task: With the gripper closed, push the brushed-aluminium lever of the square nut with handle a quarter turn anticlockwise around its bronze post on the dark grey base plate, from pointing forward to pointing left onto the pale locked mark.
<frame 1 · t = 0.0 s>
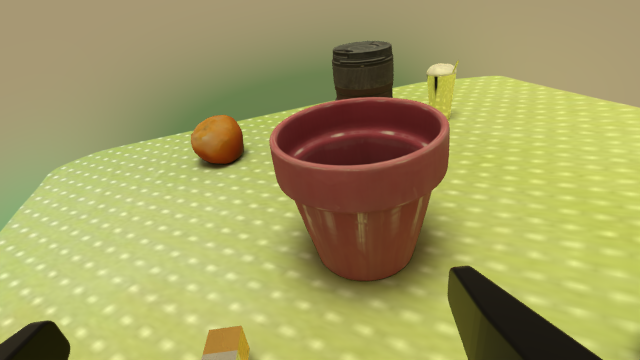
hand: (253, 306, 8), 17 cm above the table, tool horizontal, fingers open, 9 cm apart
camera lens: (368, 150, 53), on the table
plant pot: (366, 249, 34), on the table
milkshake: (441, 120, 60), on the table
fruit: (223, 160, 57), on the table
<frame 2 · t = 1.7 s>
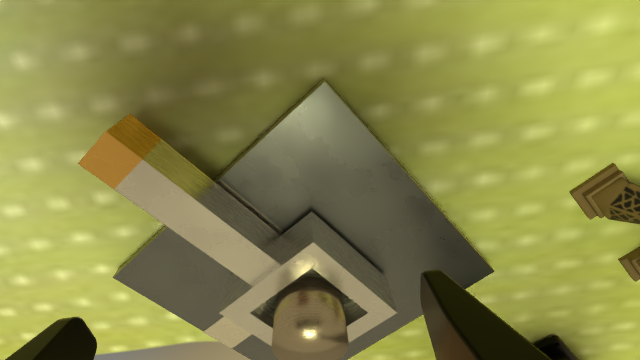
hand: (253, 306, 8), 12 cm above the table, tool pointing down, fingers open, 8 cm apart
post base: (308, 265, 23), on the table
square nut with handle: (246, 246, 19), point 2 cm above the table, hinge at 0.0°
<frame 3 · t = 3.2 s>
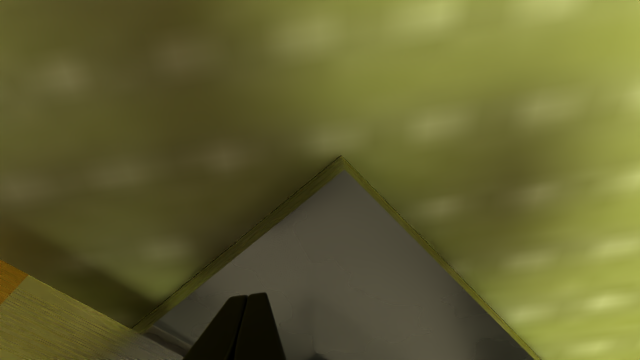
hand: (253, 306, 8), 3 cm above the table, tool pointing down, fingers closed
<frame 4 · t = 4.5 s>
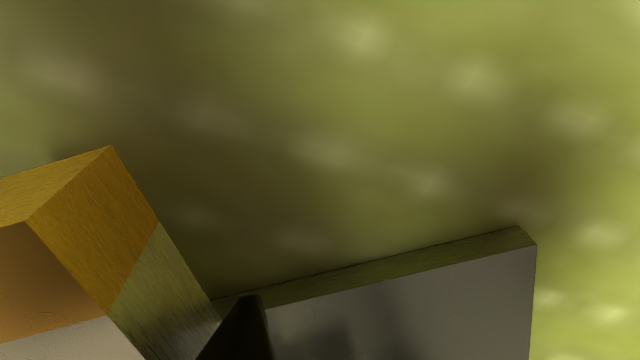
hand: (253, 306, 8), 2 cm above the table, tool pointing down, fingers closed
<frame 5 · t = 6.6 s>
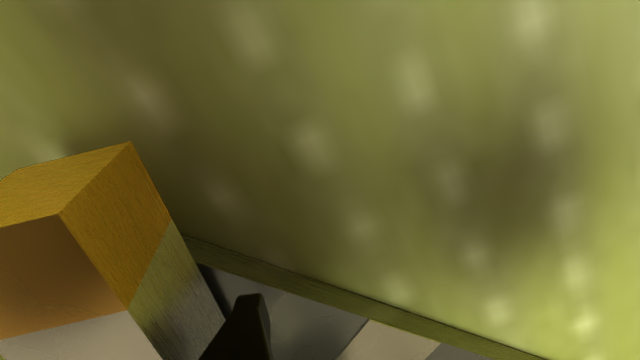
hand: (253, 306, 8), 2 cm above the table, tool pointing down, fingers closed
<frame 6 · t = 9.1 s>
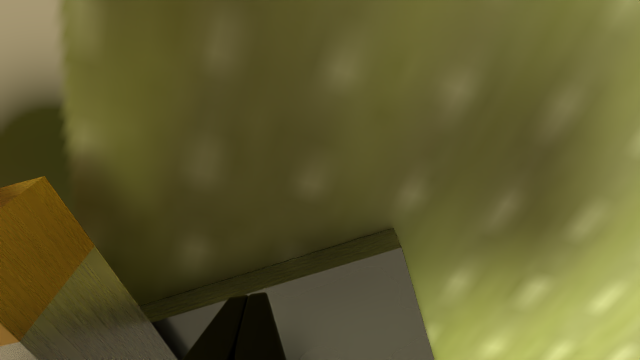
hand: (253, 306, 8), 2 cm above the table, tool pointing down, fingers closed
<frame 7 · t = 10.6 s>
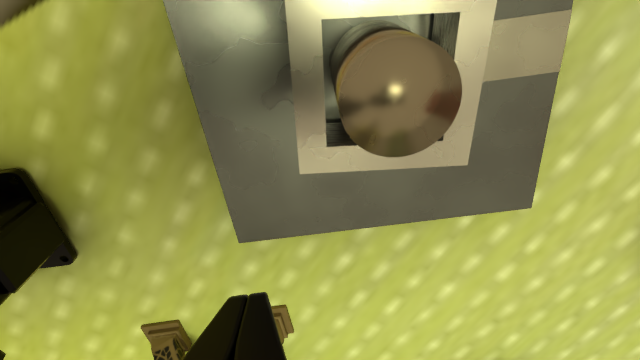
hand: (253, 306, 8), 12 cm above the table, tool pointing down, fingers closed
post base: (371, 64, 17), on the table
eiffel tower: (234, 356, 28), on the table
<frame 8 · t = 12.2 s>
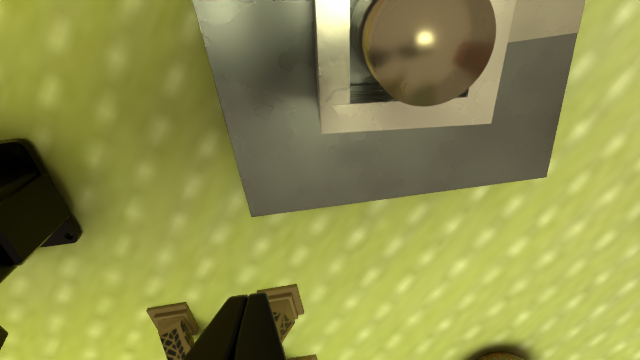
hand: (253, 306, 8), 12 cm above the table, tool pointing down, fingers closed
post base: (390, 26, 16), on the table
eiffel tower: (242, 341, 27), on the table
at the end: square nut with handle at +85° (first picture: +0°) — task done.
